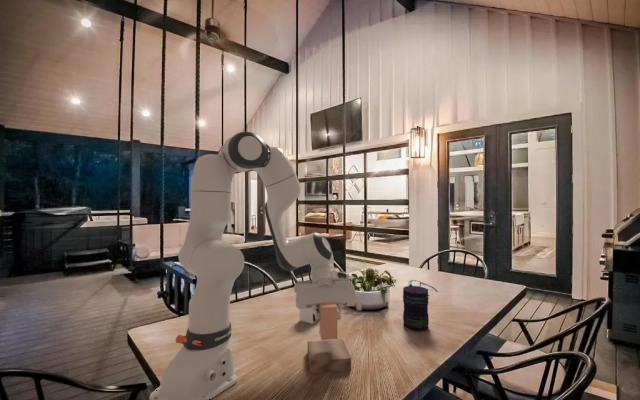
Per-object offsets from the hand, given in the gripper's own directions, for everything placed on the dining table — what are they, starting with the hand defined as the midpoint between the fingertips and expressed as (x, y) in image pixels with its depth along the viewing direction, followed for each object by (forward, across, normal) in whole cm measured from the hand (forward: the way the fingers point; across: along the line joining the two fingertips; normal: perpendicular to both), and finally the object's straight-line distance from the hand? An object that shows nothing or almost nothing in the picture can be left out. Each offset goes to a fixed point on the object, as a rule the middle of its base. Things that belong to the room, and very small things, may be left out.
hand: (328, 319), depth 90 cm
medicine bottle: (-14, -3, +33) cm, 36 cm away
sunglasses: (-37, +64, +57) cm, 93 cm away
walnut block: (+9, 0, +10) cm, 14 cm away
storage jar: (-5, +39, +25) cm, 46 cm away
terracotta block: (+3, 0, +4) cm, 5 cm away
